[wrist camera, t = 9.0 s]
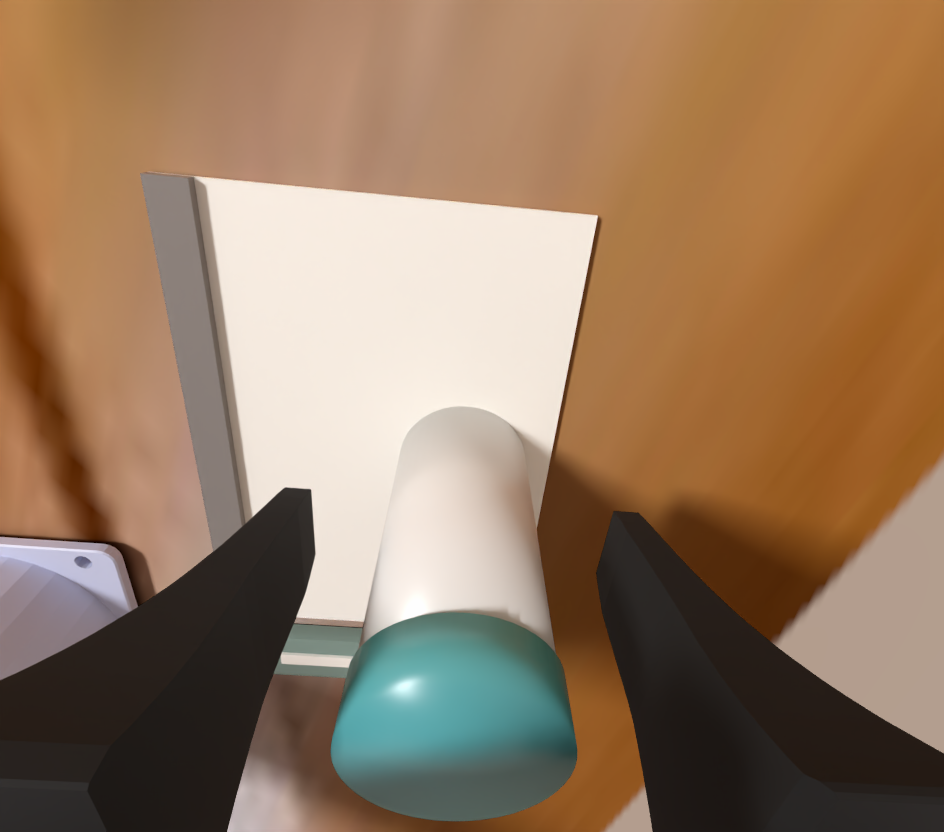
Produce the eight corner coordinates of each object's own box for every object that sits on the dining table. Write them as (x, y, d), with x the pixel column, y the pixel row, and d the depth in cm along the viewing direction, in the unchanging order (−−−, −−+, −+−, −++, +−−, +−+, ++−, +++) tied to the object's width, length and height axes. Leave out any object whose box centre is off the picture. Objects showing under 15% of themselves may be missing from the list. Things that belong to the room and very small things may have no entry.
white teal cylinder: (393, 506, 16) (331, 814, 9) (399, 396, 14) (329, 673, 7) (517, 518, 16) (551, 827, 9) (539, 410, 15) (603, 693, 7)
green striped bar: (267, 658, 20) (260, 675, 19) (261, 621, 19) (255, 638, 18) (481, 671, 20) (481, 688, 20) (486, 635, 19) (487, 652, 19)
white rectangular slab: (231, 610, 19) (226, 619, 18) (149, 171, 12) (140, 173, 11) (516, 628, 19) (517, 637, 19) (597, 215, 12) (600, 218, 12)
